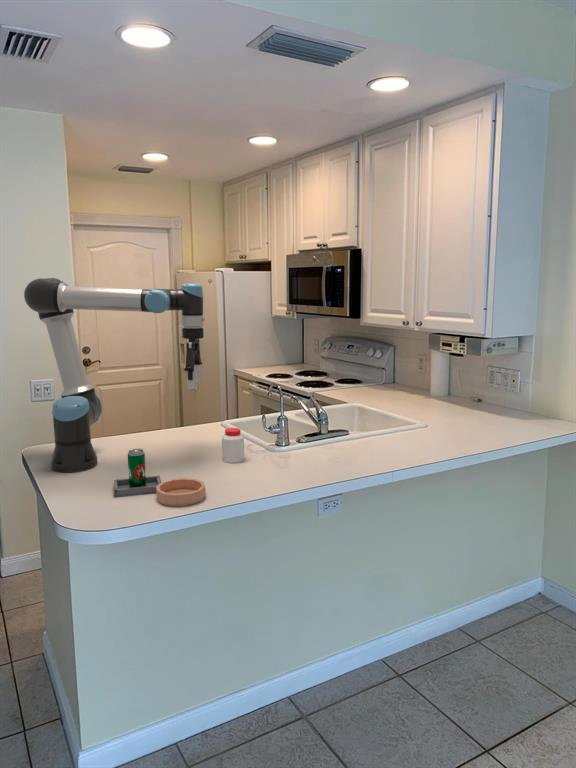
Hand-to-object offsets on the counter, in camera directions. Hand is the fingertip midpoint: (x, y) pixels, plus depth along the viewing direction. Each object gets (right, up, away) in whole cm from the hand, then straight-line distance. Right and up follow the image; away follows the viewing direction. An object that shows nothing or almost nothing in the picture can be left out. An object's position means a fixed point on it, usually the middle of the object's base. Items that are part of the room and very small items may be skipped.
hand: (193, 385), depth 217 cm
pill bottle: (+15, -27, -5) cm, 31 cm away
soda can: (-12, -32, -34) cm, 48 cm away
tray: (-12, -32, -34) cm, 48 cm away
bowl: (+3, -33, -41) cm, 53 cm away
